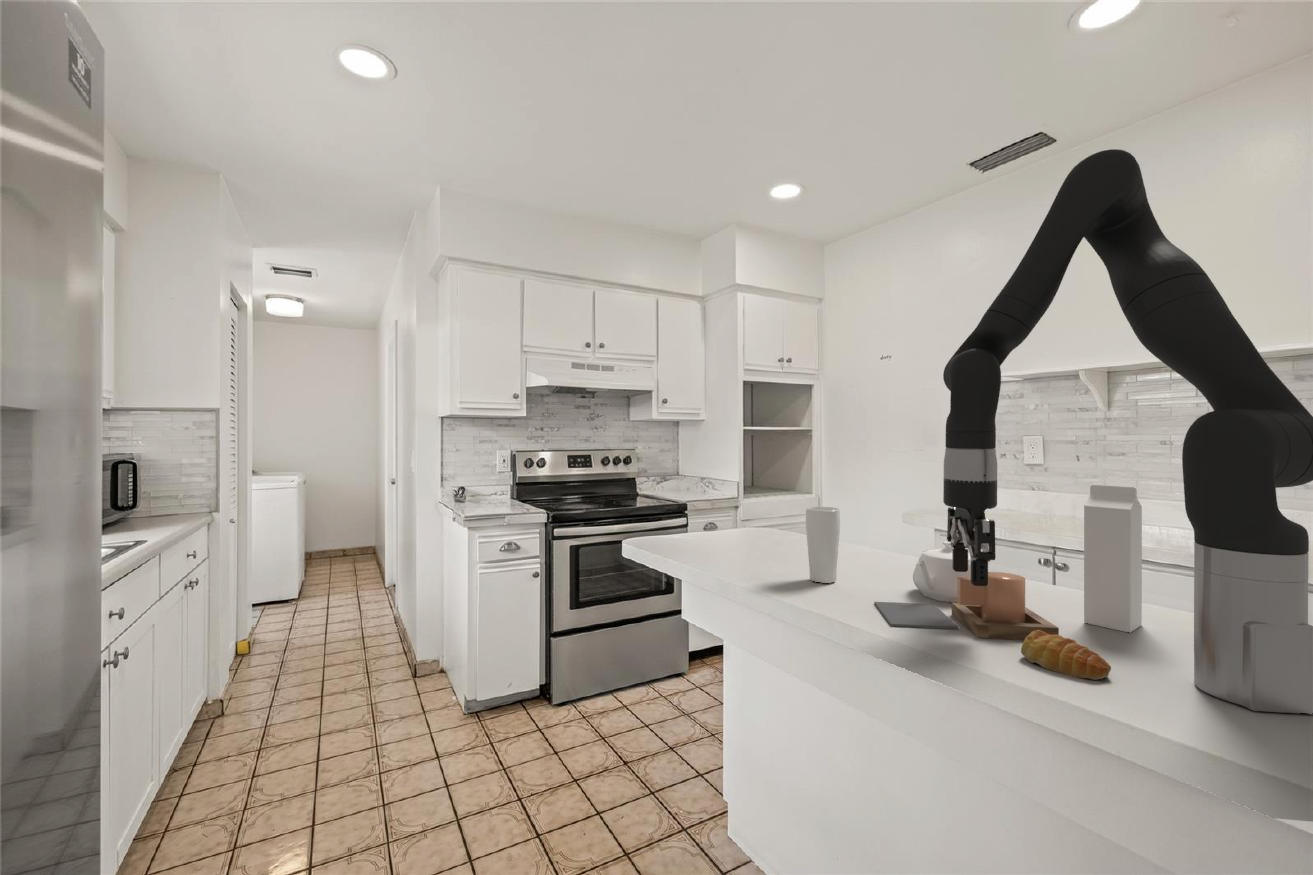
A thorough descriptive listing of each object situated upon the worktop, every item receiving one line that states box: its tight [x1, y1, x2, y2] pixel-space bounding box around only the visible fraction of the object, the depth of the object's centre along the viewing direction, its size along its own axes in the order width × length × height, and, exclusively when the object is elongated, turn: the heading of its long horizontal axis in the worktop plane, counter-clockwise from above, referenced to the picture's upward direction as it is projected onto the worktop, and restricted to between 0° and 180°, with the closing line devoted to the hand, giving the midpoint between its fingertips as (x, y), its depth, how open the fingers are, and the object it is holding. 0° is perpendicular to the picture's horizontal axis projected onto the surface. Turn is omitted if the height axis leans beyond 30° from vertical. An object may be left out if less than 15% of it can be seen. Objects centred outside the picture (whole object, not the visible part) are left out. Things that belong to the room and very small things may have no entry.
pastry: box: [1020, 630, 1112, 681], centre depth 75 cm, size 9×7×4 cm
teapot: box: [912, 540, 971, 603], centre depth 107 cm, size 20×12×10 cm, turn 126°
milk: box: [1083, 484, 1143, 634], centre depth 91 cm, size 6×6×22 cm
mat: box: [874, 601, 960, 630], centre depth 96 cm, size 12×10×1 cm
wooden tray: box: [951, 602, 1060, 641], centre depth 90 cm, size 11×11×2 cm
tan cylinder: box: [957, 571, 1026, 623], centre depth 91 cm, size 10×6×8 cm, turn 81°
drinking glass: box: [805, 506, 841, 584], centre depth 119 cm, size 7×7×15 cm
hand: (969, 578), depth 92 cm, fingers open, 8 cm apart
